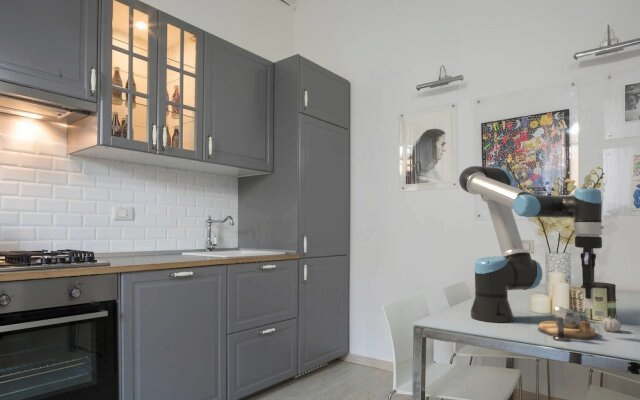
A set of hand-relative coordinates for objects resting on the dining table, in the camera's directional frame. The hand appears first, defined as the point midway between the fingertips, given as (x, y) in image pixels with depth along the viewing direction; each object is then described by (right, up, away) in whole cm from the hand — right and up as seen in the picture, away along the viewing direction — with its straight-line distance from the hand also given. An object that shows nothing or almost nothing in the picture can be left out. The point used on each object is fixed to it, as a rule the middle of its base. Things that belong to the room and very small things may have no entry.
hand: (588, 308), depth 134 cm
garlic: (+12, -10, +7) cm, 17 cm away
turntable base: (-5, -9, +4) cm, 11 cm away
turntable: (-5, -9, +4) cm, 11 cm away
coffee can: (+19, -11, +23) cm, 32 cm away
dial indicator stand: (-11, -9, -4) cm, 15 cm away
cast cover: (-4, -7, +4) cm, 9 cm away
